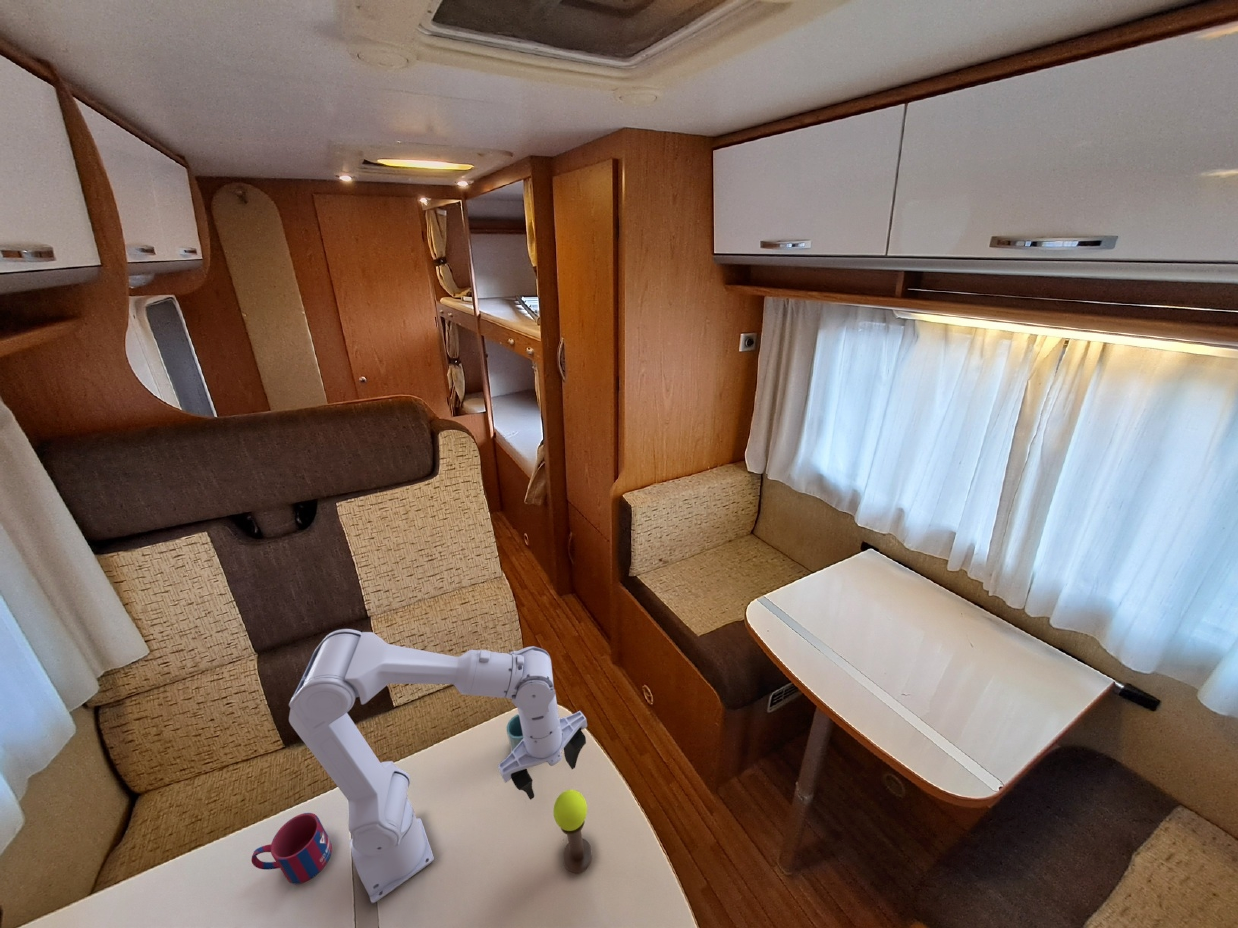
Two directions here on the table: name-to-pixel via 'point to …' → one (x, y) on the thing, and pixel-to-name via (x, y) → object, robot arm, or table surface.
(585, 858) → the stand
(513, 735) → the tumbler
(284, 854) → the cup
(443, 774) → the table surface
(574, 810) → the ball
